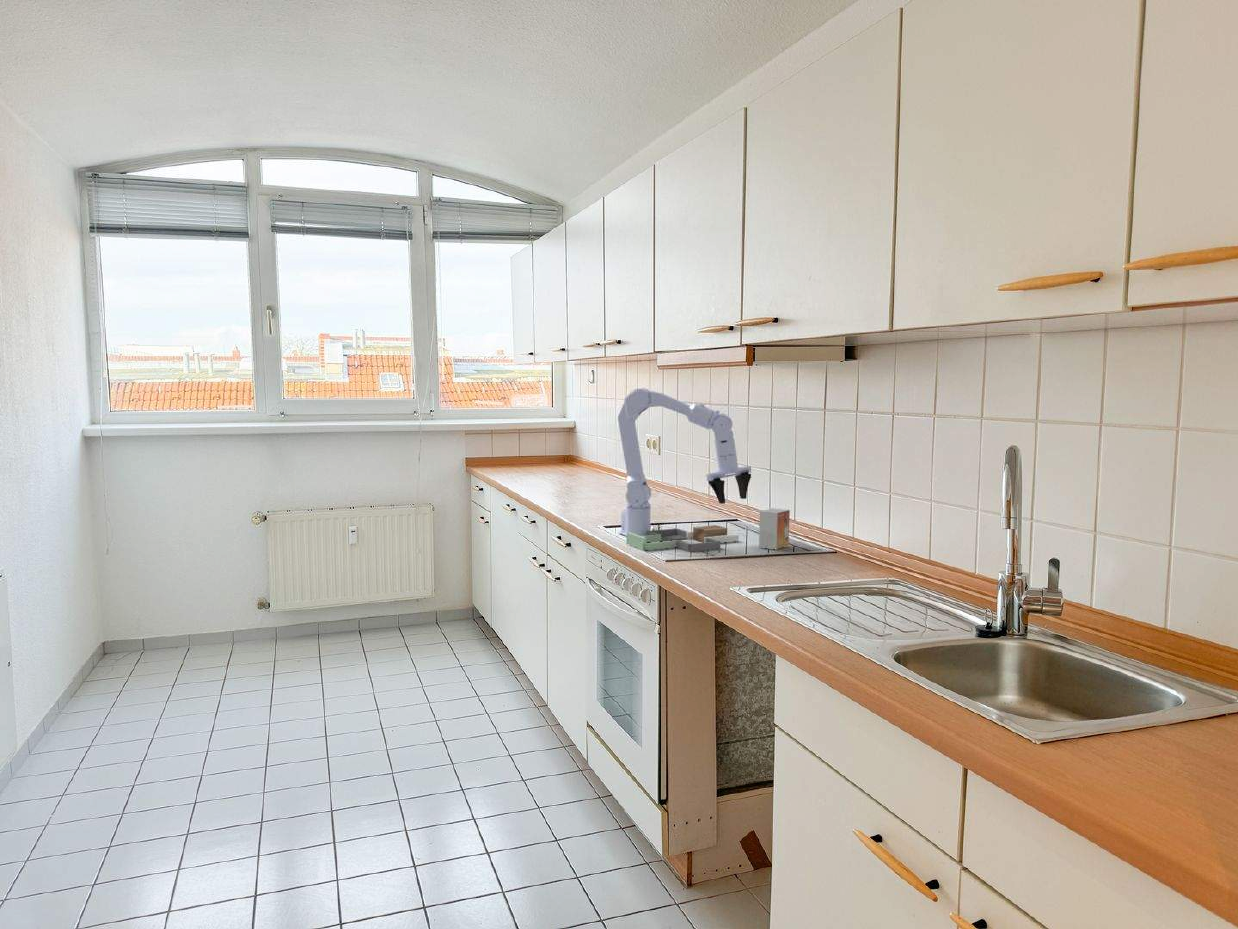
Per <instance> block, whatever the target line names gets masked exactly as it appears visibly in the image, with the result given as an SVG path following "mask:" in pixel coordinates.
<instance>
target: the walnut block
mask: <svg viewBox="0 0 1238 929" xmlns="http://www.w3.org/2000/svg"><path fill="white" fill-rule="evenodd" d="M692 528H693V529H692V531H693V538H692V540H693V541H696V542H698V543H704V537H714V536H724V535H728V527H726V526H720V525H717V524H714V525H713V524H712V525H711V524H710V525H704V526H702V525H701V526H694V527H692Z"/></svg>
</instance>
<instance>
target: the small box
mask: <svg viewBox="0 0 1238 929" xmlns="http://www.w3.org/2000/svg"><path fill="white" fill-rule="evenodd" d="M790 517H791V516H790V509H783V508H774V507H772V508H768V509H766V510H760V511H759V523H758V524H759V527H758V528H759V530H758V532H759V533H758V534H759V535H758V548H759V547H760V548H759V549H765V548H767V550H773V549H775V551H777V550H780V549H782V548H781V547H784V546H788V545H790V544H789V541H790ZM788 547H789V546H788ZM779 548H780V549H779ZM784 548H785V547H784Z"/></svg>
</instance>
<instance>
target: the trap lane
mask: <svg viewBox="0 0 1238 929" xmlns="http://www.w3.org/2000/svg"><path fill="white" fill-rule="evenodd" d="M689 539H692V540H693V530H692V531H687V530H683V529H680V528H676V527H675V528H664V529H656V530H655V529H654V530H653V529H652V530H650V531H647V536H639V535H636V534H633V533H630V532H627V536H626V545H627V544H629V545H631V546H630V547H632V546H635V547H638V548H640V549H642V550H641V551H643V550H649V551H654V550H653V549H658V550H666V549H665V548H668V549H675V548H674V547H678V548H677V549H679V548H680V549H679V550H683V551H686V552H689V553H691V552H692V553H693V552H700V551H710V550H718V549H719V550H720V549H721V544H723V543H724V542H727V543H734V541H736V542H739V533H738V534H737V533H736V534H727V535H724V536H714V537H704V543H702V542H698V543H697V542H695V543H687V542H684V541H681V540H689ZM671 540H672V541H671ZM660 541H662V542H660ZM647 542H651V543H647ZM724 544H725V543H724ZM629 545H628V546H629ZM635 547H634V548H635ZM640 549H639V550H640Z"/></svg>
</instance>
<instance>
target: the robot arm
mask: <svg viewBox="0 0 1238 929" xmlns="http://www.w3.org/2000/svg"><path fill="white" fill-rule="evenodd" d="M657 407H663V408H665V409H667V410H670V411H673V412H675V413H678V414H681V415H684V416H686V417H687V420H688V422H689V423H692V424H693V425H696V426H699V427H701V428H704V429H706V430H710V429H711V430H712V431H713V433H714V446H715V447H714V448H715V452H716V453H715V454H716V460H717V467H718V468H717V469H718V471H715V472H710V473H707V474H706V481H707V482H708V485H709V487H711V489H712V490H713V492H714V494H715V496H716V498H717V501H718V503H719V504H722V505H723V504H726V497H725V481H726V480H723V479H724V478H730V477H734V478H735V480H736V483H737V487H738V492H739V497H740V499H743V500H745V499H747V496H748V487H749V484H750V481H751V479H752V474H751V473H752V467H751V465H746V466H740V467H739V464H738V457H737V450H736V444H735V443H736V442H735V438H734V432H733V430H732V428H733V420H732V418H731V417H730V416H728V415H727V414H725V413H720V412H721V411H720V410H718V409H716V410H713V409H711V408H709V407H707V406H705V404H704V403H702V402H700V403H694V404H692V405H690V404H687V403H685V402H682V401H680V400H678V399H676V398H674V397H671V396H669V395H667V394H664V393H662V392H658V391H655V390H649V389H647V388H645V387H643V388H635V389H632V390H631V391H630V392H629V393H628V394H627V395H626V396H625V398H624V401H623V404H622V406H621V409H620V412H619V413H618V416H617V421H618V427H619V434H620V439H621V445H622V451H623V457H624V462H625V463H624V464H625V469H626V475H627V479H626V486H627V489H626V492H625V499H626V502H627V503H626V506H624V507H623V508H622V511H621V526H620V528H621V531H618V534H619V535H622V534H623V535H622V536H625V537H627V532H630V533H633V534H636V535H639V536H647V531H651V503H650V502H649V500H650V499H651V496H652V490H651V488H650V486H649V484H648V483H647V478H646V475H645V474H644V467H643V461H642V455H641V450H640V444H639V439H638V431H637V426H636V420H637V419H639V417H640V416H641V414H642V413H643V412H645V411H646V410H648V409H649V408H657Z"/></svg>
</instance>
